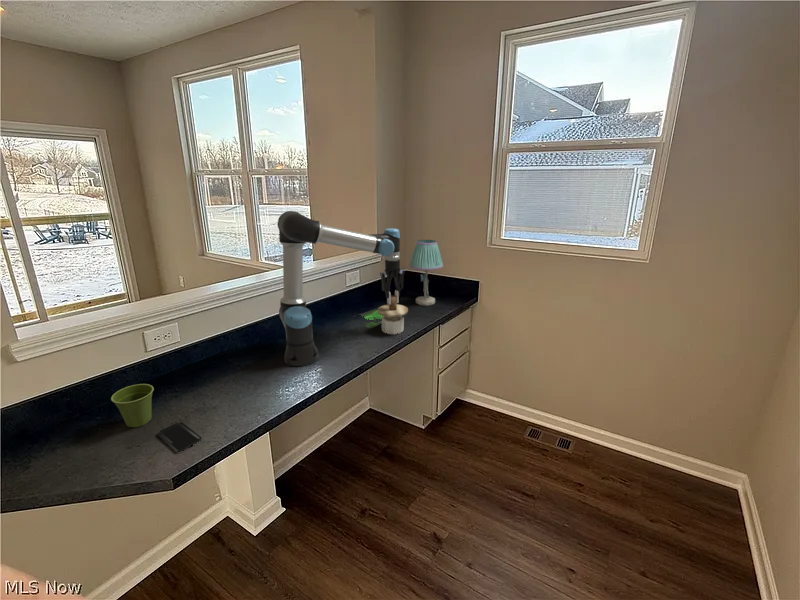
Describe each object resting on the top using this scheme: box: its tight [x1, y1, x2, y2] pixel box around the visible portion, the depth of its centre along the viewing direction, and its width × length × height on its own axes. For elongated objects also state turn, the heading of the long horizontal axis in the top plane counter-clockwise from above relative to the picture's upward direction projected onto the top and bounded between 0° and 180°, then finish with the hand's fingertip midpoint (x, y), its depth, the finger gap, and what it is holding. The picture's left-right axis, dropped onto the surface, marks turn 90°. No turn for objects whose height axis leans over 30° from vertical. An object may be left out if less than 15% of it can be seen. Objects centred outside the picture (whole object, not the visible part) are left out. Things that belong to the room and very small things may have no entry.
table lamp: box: [408, 239, 444, 306], centre depth 245 cm, size 22×22×40 cm
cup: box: [381, 316, 405, 335], centre depth 207 cm, size 11×11×7 cm
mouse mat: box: [351, 307, 404, 329], centre depth 225 cm, size 27×22×1 cm
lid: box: [377, 295, 409, 317], centre depth 203 cm, size 16×16×8 cm
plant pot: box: [110, 383, 155, 428], centre depth 130 cm, size 12×12×11 cm
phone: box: [156, 421, 203, 453], centre depth 124 cm, size 8×1×15 cm
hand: (392, 302), depth 203 cm, fingers closed on lid, 4 cm apart
